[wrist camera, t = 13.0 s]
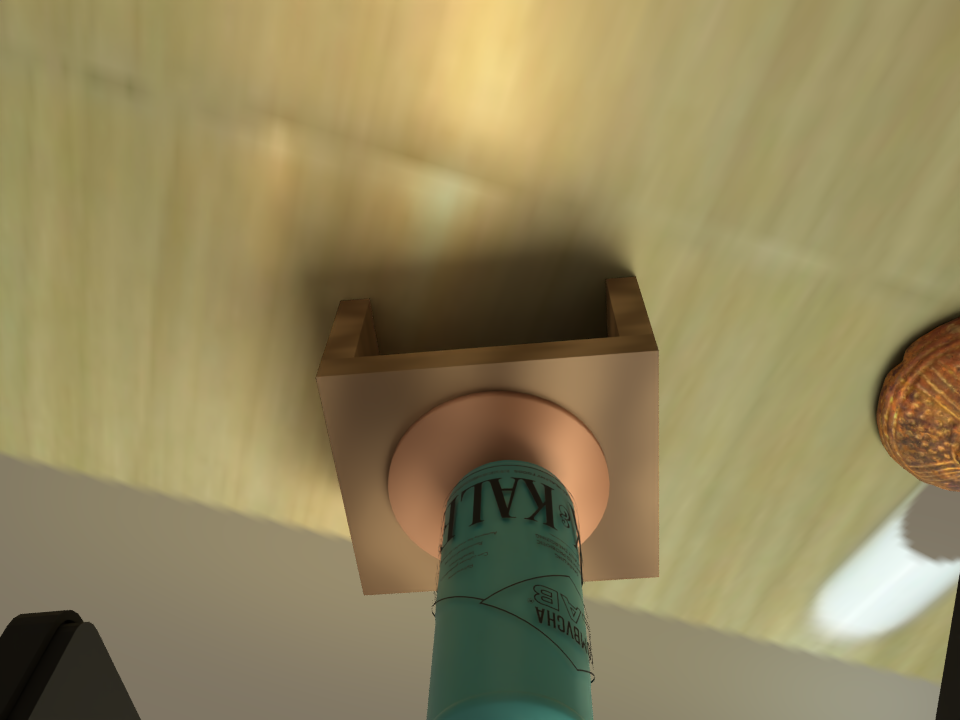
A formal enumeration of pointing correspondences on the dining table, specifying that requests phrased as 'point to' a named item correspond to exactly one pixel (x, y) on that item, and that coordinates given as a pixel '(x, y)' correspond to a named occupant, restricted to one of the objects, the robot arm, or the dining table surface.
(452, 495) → the beverage bottle
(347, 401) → the wooden u-channel bracket
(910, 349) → the candle holder
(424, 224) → the dining table surface
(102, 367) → the dining table surface
